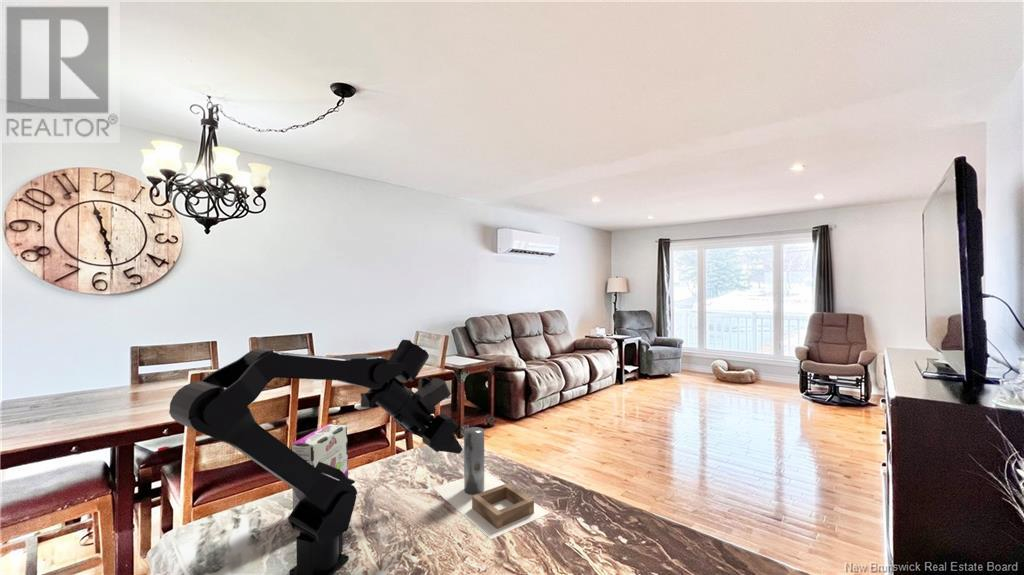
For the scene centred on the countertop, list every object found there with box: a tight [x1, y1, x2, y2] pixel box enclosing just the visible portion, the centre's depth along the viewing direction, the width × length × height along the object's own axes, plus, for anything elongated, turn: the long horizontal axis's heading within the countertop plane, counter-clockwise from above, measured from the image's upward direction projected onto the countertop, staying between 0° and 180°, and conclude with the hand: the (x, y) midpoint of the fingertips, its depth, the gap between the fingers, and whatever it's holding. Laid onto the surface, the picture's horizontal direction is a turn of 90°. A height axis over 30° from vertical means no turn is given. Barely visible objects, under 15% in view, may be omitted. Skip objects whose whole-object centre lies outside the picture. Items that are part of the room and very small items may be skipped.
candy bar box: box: [290, 423, 349, 511], centre depth 83 cm, size 11×5×16 cm, turn 168°
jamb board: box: [432, 470, 550, 540], centre depth 86 cm, size 23×14×1 cm, turn 37°
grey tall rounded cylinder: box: [463, 426, 485, 495], centre depth 90 cm, size 4×4×13 cm
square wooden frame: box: [472, 482, 535, 529], centre depth 82 cm, size 9×9×2 cm
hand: (449, 444), depth 87 cm, fingers open, 9 cm apart
